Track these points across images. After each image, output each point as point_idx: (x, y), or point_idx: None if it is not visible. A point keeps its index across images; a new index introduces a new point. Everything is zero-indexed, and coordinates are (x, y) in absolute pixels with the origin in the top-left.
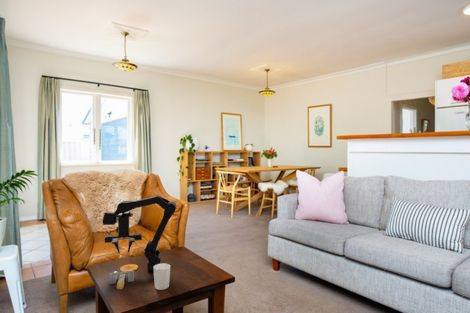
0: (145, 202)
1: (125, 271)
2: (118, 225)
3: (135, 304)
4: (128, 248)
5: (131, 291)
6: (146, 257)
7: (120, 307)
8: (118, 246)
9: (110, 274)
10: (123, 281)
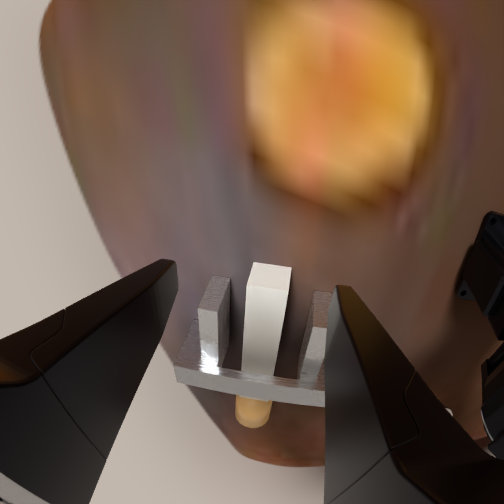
0: None
1: (279, 388)
2: None
3: (301, 462)
4: (330, 420)
5: (302, 421)
6: (488, 376)
7: (257, 459)
8: (111, 436)
9: (181, 381)
10: (267, 409)
